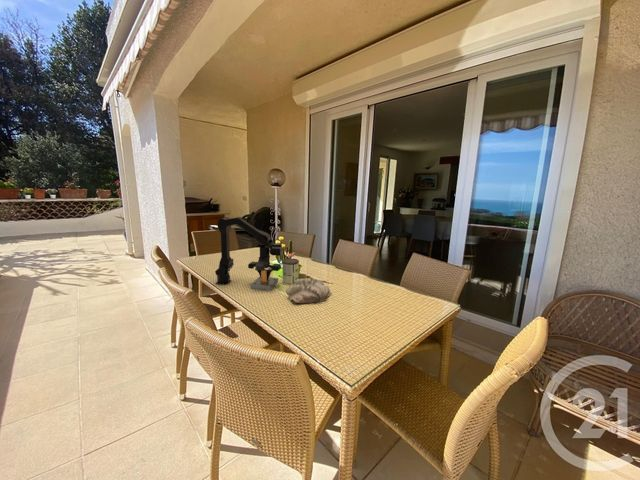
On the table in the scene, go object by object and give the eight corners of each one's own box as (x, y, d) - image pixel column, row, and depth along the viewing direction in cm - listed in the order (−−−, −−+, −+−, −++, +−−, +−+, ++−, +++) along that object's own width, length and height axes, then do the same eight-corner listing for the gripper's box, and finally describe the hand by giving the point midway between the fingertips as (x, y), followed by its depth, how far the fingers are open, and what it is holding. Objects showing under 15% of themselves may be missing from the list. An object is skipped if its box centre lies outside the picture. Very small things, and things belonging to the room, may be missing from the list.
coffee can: (284, 278, 167) (284, 257, 164) (299, 279, 166) (300, 258, 163) (280, 284, 157) (280, 262, 154) (296, 285, 156) (297, 263, 153)
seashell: (304, 307, 123) (296, 277, 126) (284, 311, 136) (277, 284, 139) (343, 293, 143) (335, 267, 145) (322, 298, 156) (315, 274, 158)
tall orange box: (261, 283, 152) (261, 270, 150) (263, 281, 155) (263, 269, 153) (266, 283, 151) (266, 271, 150) (268, 282, 155) (268, 269, 153)
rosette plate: (250, 288, 148) (250, 283, 147) (260, 280, 161) (260, 275, 161) (270, 291, 146) (270, 285, 145) (278, 282, 159) (278, 277, 159)
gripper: (243, 256, 144) (244, 283, 147) (275, 259, 141) (274, 286, 144) (252, 252, 154) (252, 276, 157) (281, 254, 151) (281, 279, 154)
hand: (264, 279), depth 153 cm, fingers closed on tall orange box, 3 cm apart
